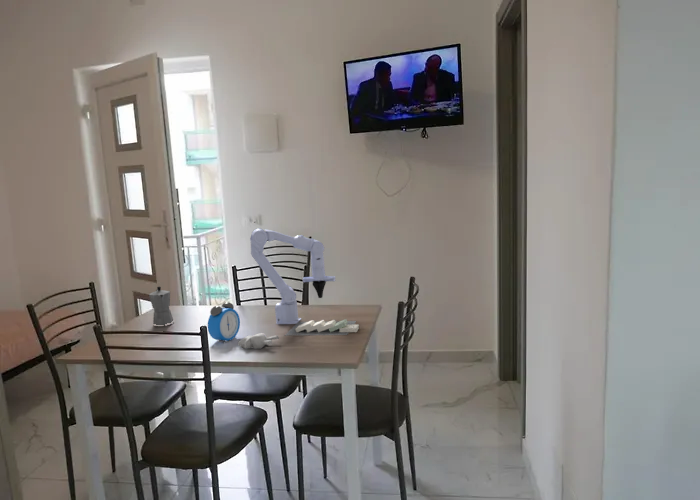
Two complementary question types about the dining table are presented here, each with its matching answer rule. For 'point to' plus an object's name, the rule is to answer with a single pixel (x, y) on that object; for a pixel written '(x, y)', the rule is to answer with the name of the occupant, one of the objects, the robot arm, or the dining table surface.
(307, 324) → the domino
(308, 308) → the dining table surface
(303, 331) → the mat
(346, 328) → the white flat block
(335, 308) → the dining table surface
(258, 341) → the bunny figurine
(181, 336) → the dining table surface
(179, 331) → the dining table surface
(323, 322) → the domino
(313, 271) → the robot arm
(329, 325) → the domino
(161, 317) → the coffeepot
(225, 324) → the alarm clock
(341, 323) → the domino
